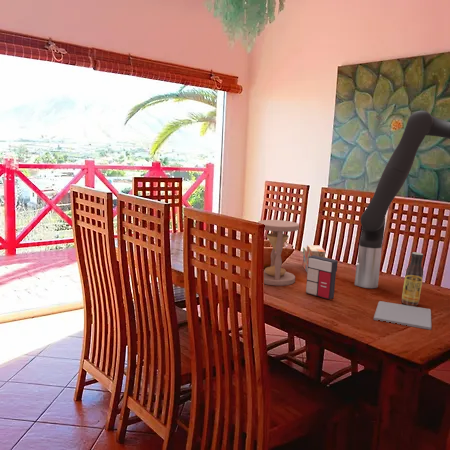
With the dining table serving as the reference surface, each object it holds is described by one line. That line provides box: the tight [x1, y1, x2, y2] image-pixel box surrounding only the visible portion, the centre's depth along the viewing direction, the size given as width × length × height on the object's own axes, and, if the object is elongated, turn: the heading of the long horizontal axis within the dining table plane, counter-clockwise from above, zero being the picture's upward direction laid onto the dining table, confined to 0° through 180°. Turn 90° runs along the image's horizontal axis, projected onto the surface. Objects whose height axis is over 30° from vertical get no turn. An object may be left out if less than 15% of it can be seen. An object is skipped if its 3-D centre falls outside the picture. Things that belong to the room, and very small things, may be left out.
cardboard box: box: [302, 244, 326, 273], centre depth 217 cm, size 21×6×12 cm, turn 0°
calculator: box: [305, 255, 339, 300], centre depth 180 cm, size 11×4×15 cm, turn 47°
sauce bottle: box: [401, 251, 424, 307], centre depth 174 cm, size 7×6×20 cm
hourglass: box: [257, 219, 300, 287], centre depth 199 cm, size 18×18×25 cm
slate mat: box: [373, 300, 432, 331], centre depth 163 cm, size 18×20×1 cm
